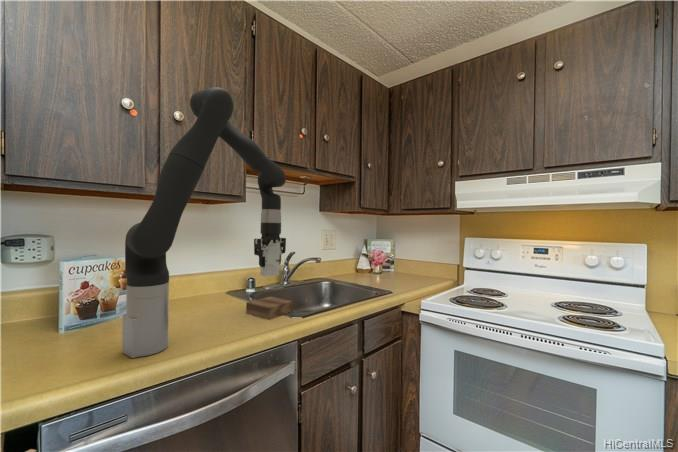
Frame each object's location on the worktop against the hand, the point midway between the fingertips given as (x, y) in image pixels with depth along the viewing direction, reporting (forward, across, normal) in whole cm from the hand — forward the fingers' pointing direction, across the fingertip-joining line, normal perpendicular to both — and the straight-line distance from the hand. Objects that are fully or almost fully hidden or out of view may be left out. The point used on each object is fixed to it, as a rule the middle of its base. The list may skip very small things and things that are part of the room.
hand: (270, 265), depth 108 cm
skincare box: (+4, 0, 0) cm, 4 cm away
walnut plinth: (+18, 0, 0) cm, 18 cm away
